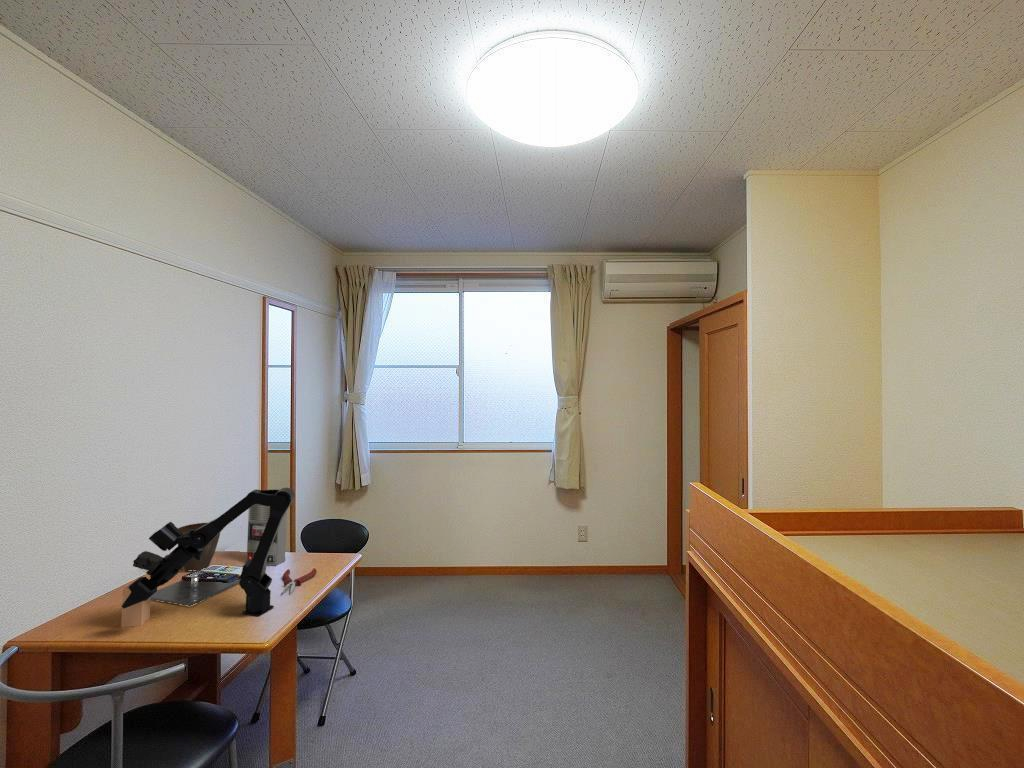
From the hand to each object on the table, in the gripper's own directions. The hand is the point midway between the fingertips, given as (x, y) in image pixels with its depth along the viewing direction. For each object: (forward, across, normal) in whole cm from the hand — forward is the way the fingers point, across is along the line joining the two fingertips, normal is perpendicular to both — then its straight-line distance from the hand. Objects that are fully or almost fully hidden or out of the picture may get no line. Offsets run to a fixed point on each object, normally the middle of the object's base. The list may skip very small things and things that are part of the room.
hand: (131, 600), depth 135 cm
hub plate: (-2, -21, +11) cm, 24 cm away
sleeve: (+4, 0, +6) cm, 7 cm away
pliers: (-23, -21, +34) cm, 46 cm away
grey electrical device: (-13, -45, +23) cm, 53 cm away
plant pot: (+3, -44, +6) cm, 45 cm away
